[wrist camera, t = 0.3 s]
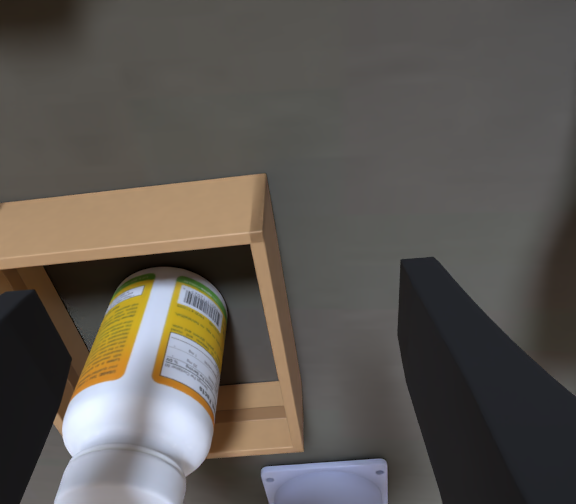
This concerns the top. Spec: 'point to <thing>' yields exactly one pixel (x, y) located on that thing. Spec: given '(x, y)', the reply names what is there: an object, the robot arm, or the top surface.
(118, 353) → the supplement bottle
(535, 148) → the top surface
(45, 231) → the wooden box
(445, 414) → the robot arm
